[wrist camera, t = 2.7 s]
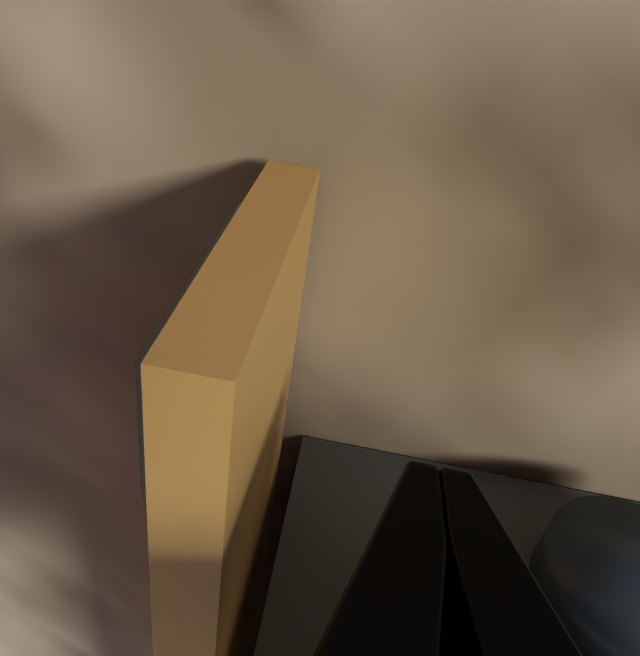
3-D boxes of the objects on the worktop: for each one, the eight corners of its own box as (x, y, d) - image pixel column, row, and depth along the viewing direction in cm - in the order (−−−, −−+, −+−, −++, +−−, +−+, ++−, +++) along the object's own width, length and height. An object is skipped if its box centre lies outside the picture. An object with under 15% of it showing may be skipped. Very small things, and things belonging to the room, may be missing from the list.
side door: (246, 716, 20) (198, 936, 15) (210, 708, 20) (152, 925, 16) (326, 170, 9) (246, 383, 5) (250, 156, 9) (104, 357, 5)
